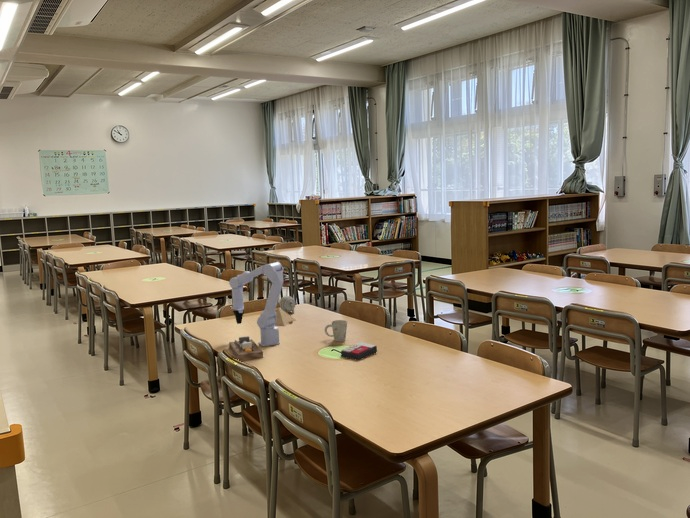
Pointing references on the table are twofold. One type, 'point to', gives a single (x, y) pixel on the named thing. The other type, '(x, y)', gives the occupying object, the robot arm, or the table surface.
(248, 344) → the grey block
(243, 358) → the launcher base
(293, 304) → the toy sheep
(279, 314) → the model pyramid
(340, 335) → the mug
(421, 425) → the table surface
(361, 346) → the flat black red box
